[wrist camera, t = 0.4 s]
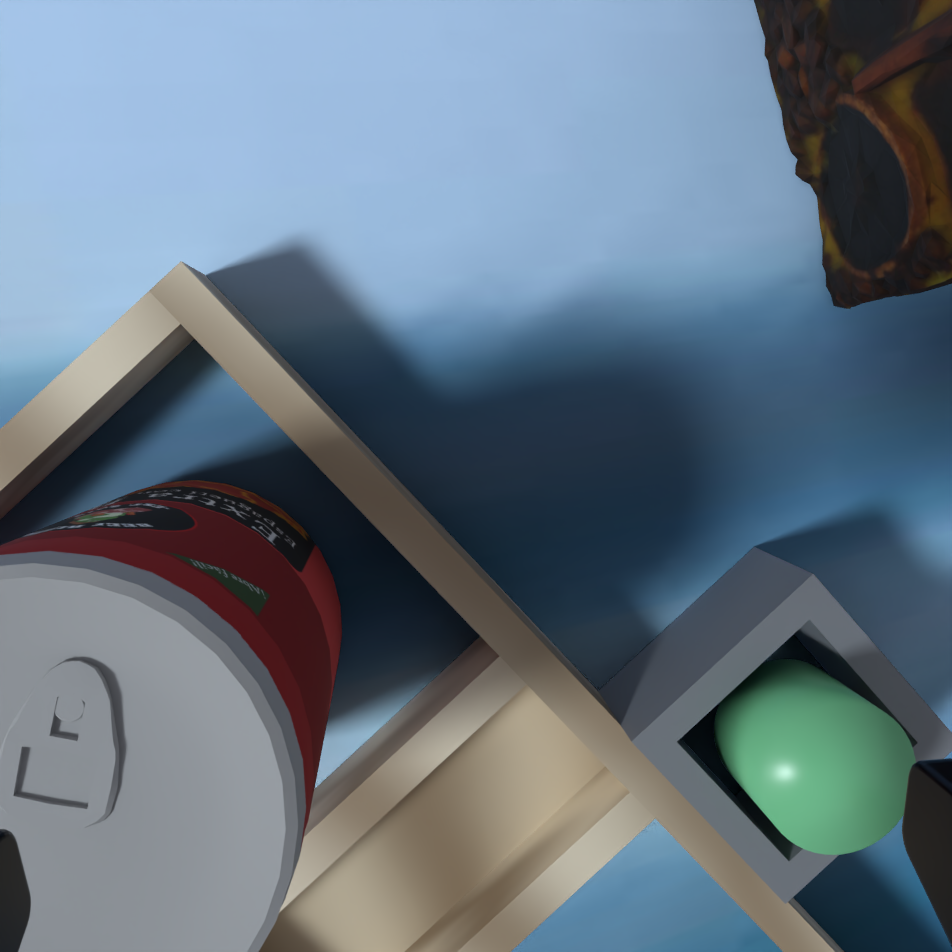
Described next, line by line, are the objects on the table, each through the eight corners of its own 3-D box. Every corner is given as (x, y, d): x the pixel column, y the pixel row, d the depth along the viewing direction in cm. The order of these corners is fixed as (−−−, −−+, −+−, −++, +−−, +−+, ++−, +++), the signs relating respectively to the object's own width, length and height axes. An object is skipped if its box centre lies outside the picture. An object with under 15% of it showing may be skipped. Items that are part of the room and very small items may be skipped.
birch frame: (595, 1305, 27) (616, 1400, 24) (-165, 617, 22) (-234, 646, 20) (907, 1018, 27) (960, 1084, 24) (204, 274, 22) (181, 261, 20)
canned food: (337, 468, 23) (286, 544, 12) (352, 755, 24) (317, 1061, 13) (39, 481, 23) (-292, 574, 12) (66, 775, 23) (-220, 1116, 13)
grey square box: (732, 833, 25) (785, 904, 22) (598, 691, 25) (631, 741, 21) (883, 693, 25) (960, 743, 22) (754, 546, 25) (813, 573, 21)
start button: (773, 820, 23) (830, 886, 20) (685, 726, 22) (730, 778, 19) (874, 726, 23) (946, 778, 20) (789, 630, 22) (850, 668, 19)
